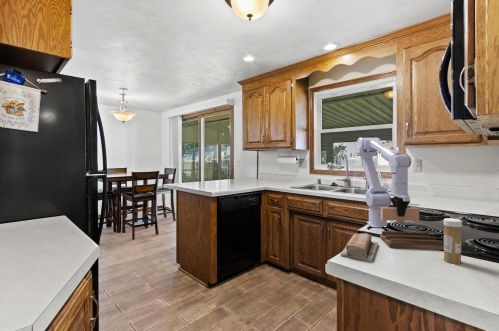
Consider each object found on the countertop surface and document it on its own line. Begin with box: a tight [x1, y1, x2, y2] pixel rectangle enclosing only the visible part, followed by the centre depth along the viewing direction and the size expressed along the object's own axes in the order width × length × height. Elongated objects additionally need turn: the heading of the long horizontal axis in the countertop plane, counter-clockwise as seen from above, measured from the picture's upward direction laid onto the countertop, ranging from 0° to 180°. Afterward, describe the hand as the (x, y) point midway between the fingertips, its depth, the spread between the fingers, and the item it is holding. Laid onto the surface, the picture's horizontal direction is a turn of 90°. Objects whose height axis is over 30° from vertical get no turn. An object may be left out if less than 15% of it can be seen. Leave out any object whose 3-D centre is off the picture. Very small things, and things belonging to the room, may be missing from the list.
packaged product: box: [340, 232, 379, 263], centre depth 92 cm, size 18×5×10 cm
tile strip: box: [381, 206, 420, 222], centre depth 107 cm, size 2×14×5 cm, turn 80°
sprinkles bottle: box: [443, 217, 463, 265], centre depth 81 cm, size 5×5×14 cm
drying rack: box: [379, 230, 444, 251], centre depth 97 cm, size 11×18×3 cm, turn 80°
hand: (399, 215), depth 107 cm, fingers closed on tile strip, 2 cm apart
